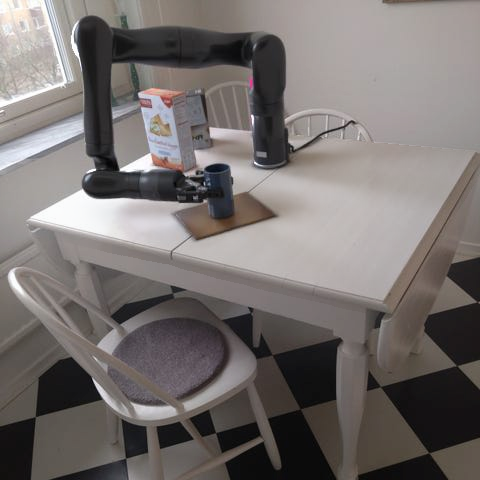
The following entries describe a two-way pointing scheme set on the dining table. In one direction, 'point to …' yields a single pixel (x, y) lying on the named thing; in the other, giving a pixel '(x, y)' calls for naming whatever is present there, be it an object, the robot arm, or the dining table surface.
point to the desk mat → (206, 225)
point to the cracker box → (168, 128)
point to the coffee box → (198, 117)
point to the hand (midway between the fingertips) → (228, 187)
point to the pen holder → (219, 178)
